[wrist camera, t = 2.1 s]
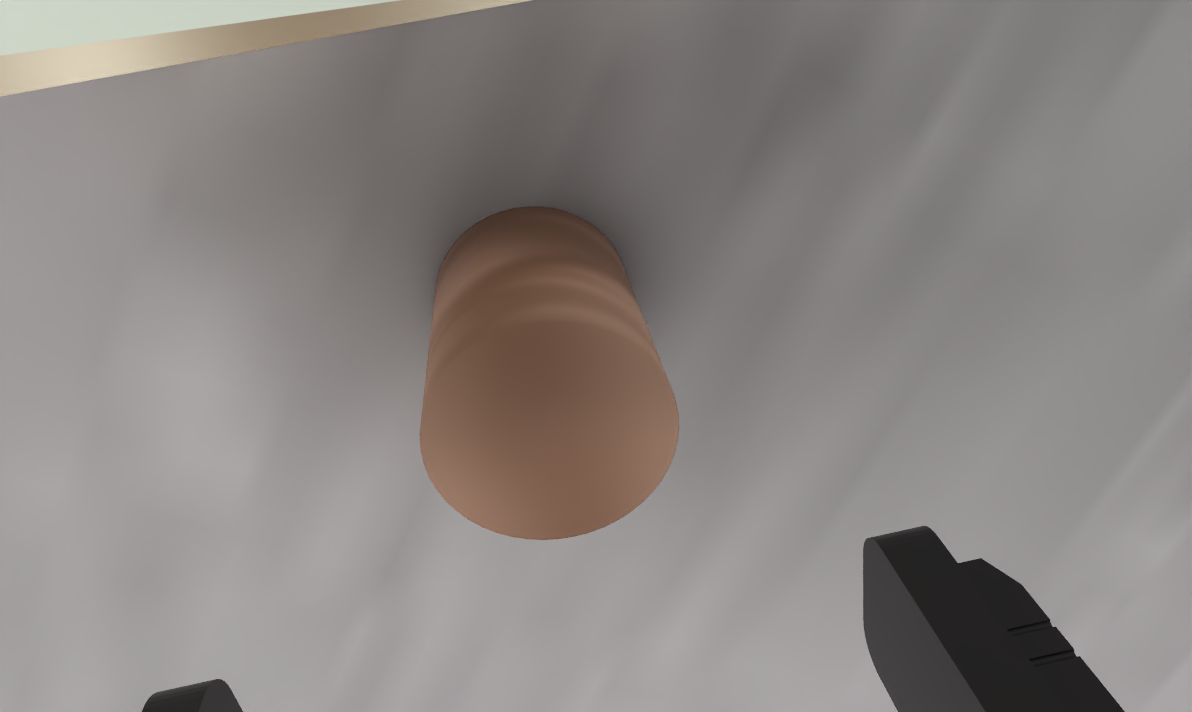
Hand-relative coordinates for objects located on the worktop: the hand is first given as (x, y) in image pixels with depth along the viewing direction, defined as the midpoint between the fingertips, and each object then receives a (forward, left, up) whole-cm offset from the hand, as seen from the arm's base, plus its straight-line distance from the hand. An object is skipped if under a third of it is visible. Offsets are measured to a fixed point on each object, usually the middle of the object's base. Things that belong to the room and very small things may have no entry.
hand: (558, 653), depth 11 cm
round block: (0, 0, -11) cm, 11 cm away
